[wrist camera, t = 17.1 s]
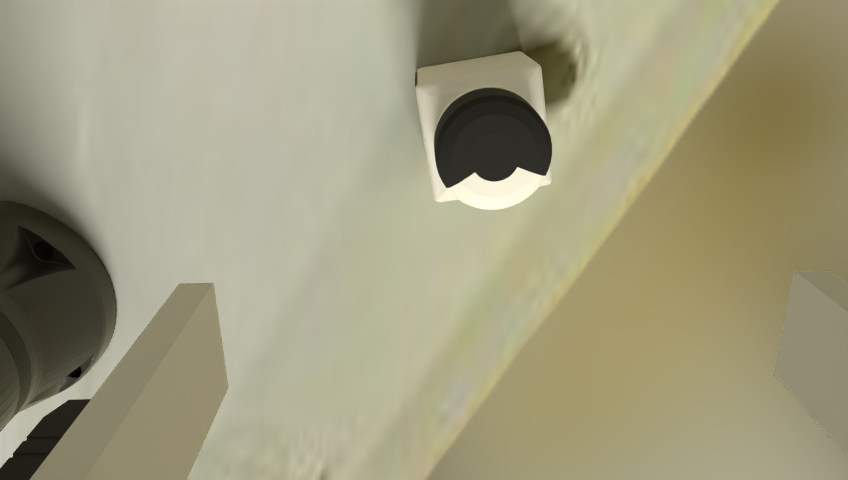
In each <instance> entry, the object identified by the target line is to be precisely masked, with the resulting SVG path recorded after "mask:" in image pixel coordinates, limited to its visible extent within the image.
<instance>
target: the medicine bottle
mask: <svg viewBox="0 0 848 480" xmlns="http://www.w3.org/2000/svg"><path fill="white" fill-rule="evenodd" d="M415 92H416V98H417V104H418V110H419V116H420V122H421V128H422V134H423V140H424V146H425V152H426V158H427V164H428V170H429V176H430V181H431V187H432V193H433V198H434V200H435V201H437V202H444V201H450V200H456V199H459V200H460V201H462V202H463V203H465V204H468V205H470V206H473V207H476V208H480V209H503V208H506V207H510V206H513V205H515V204H518V203H519V202H521V201H523V200H525V199H526V198H527V197H529V196H530V195H531V194H532V193H533V192H534V191H535V190H536V189H537V188H538V187H539V186H544V185H548V184H550V183H551V182H552V171H551V156H552V143H551V138H550V134H549V131H548V128H547V120H546V110H545V100H544V90H543V80H542V70H541V66H540V65H539V64H537V63H536V62H535V61H533V60H532V59H531V58H529V57H528V56H526V55H525V54H524V53H522V52H521V51H516V52H511V53H505V54H499V55H493V56H487V57H481V58H475V59H469V60H464V61H458V62H452V63H446V64H440V65H434V66H428V67H422V68H419V69H417V71H416V74H415Z"/></svg>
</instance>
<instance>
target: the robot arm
mask: <svg viewBox="0 0 848 480" xmlns="http://www.w3.org/2000/svg"><path fill="white" fill-rule="evenodd" d="M115 324H116V300H115V295H114V291H113V287H112V284H111V281H110V279H109V276H108V274H107V272H106V270H105V268H104V267H103V265H102V263H101V262H100V260H99V259H98V257H97V256H96V254H95V253H94V252H93V251H92V249H91V248H90V247H89V246H88V245H87V244H86V243H85V242H84V241H83V240H82V239H81V238H80V237H79V236H78V235H77V234H76V233H75V232H73V231H72V230H71V229H70V228H68V227H67V226H66V225H64V224H63V223H61V222H60V221H58V220H56V219H55V218H53V217H51V216H49V215H47V214H45V213H43V212H41V211H38V210H36V209H33V208H31V207H28V206H24V205H21V204H17V203H12V202H6V201H0V431H1V430H2V429H3V428H4V427H5V426H6V424H7V423H8V422H9V421H10V420H11V419H12V418H13V417H14V416H15V415H16V414H17V413H18V412H20V411H22V410H25V409H27V408H29V407H31V406H33V405H35V404H37V403H39V402H41V401H43V400H45V399H47V398H49V397H51V396H54V395H56V394H58V393H60V392H62V391H64V390H65V389H67V388H69V387H70V386H72V385H73V384H75V383H76V382H77V381H79V380H80V379H81V378H82V377H83V376H84V375H86V374H87V372H88V371H89V370H90V369H91V368H92V367H93V365H94V364H95V363H96V362H97V361H98V360H99V358H100V357H101V356H102V355H103V353H104V352H105V350H106V349H107V347H108V345H109V343H110V341H111V339H112V336H113V333H114V329H115ZM774 377H775V378H776V379H777V380H778V381H779V382H780V383H781V384H782V385H783V386H784V388H785V389H786V390H787V391H788V392H789V393H790V394H791V395H792V396H793V398H794V399H795V400H796V401H797V402H798V403H799V404H800V405H801V406H802V408H803V409H804V410H805V411H806V412H807V413H808V414H809V415H810V417H811V418H812V419H813V420H814V421H815V422H816V423H817V424H818V425H819V426H820V428H821V429H822V430H823V431H824V432H825V433H826V434H827V436H828V437H829V438H830V439H831V440H832V441H833V442H834V443H835V444H836V446H837V447H838V448H839V449H840V450H841V451H842V452H843V453H844V454H845V455H846V457H847V458H848V284H847V283H845V282H844V281H842V280H841V279H840V278H838V277H837V276H836V275H834V274H833V273H831V272H830V271H829V270H812V271H794V276H793V281H792V286H791V291H790V296H789V301H788V305H787V310H786V315H785V321H784V326H783V330H782V336H781V340H780V345H779V350H778V355H777V360H776V365H775V370H774ZM227 389H228V381H227V374H226V367H225V360H224V353H223V346H222V339H221V332H220V325H219V318H218V311H217V304H216V297H215V290H214V283H187V284H179V285H178V286H177V287H176V289H175V290H174V291H173V293H172V294H171V295H170V297H169V298H168V299H167V300H166V302H165V303H164V304H163V306H162V307H161V308H160V310H159V311H158V312H157V314H156V315H155V316H154V317H153V319H152V320H151V321H150V323H149V324H148V325H147V327H146V328H145V329H144V331H143V332H142V333H141V335H140V336H139V337H138V338H137V340H136V341H135V342H134V344H133V345H132V346H131V348H130V349H129V350H128V352H127V353H126V354H125V355H124V357H123V358H122V359H121V361H120V362H119V363H118V365H117V366H116V367H115V369H114V370H113V371H112V372H111V374H110V375H109V376H108V378H107V379H106V380H105V382H104V383H103V384H102V386H101V387H100V388H99V390H98V391H97V392H96V393H95V395H94V396H93V397H92V399H84V400H68V401H67V402H65V403H64V404H62V405H61V406H59V407H58V408H56V409H55V410H53V411H52V412H50V413H49V414H48V415H46V416H45V417H43V418H42V420H41V421H40V422H39V423H38V424H37V426H36V427H35V428H34V429H33V430H32V432H31V433H30V434H29V435H28V436H27V440H26V441H23V442H22V443H21V445H20V446H19V447H18V448H17V449H16V451H15V452H14V453H13V457H12V458H9V459H8V460H7V461H6V462H5V464H4V465H3V466H2V467H1V468H0V480H187V478H188V476H189V473H190V471H191V469H192V467H193V464H194V462H195V460H196V458H197V456H198V453H199V451H200V449H201V447H202V445H203V442H204V440H205V438H206V436H207V434H208V431H209V429H210V427H211V425H212V422H213V420H214V418H215V416H216V414H217V411H218V409H219V407H220V405H221V403H222V400H223V398H224V396H225V394H226V391H227Z"/></svg>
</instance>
